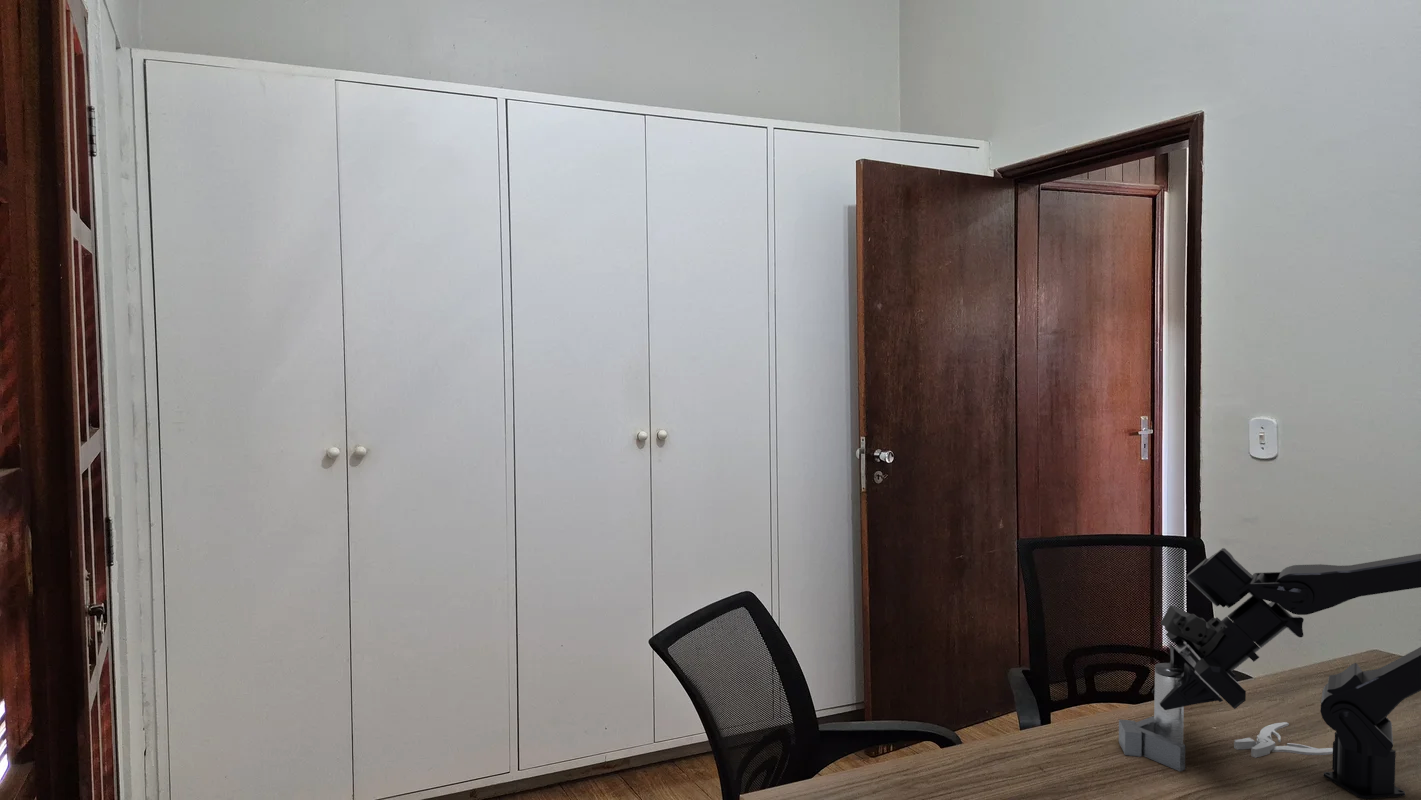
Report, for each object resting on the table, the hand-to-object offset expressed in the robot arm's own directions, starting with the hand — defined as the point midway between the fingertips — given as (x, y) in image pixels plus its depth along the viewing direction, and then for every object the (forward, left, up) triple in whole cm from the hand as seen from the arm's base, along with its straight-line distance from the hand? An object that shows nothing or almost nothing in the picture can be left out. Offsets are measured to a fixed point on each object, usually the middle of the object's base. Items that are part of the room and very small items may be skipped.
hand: (1158, 700), depth 125 cm
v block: (0, +1, -8) cm, 8 cm away
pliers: (0, -20, -8) cm, 21 cm away
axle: (-1, -1, -8) cm, 8 cm away
